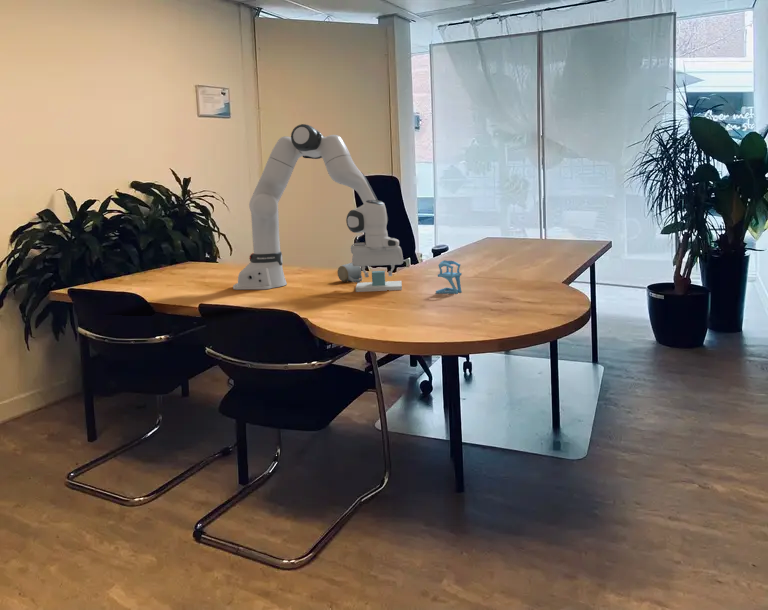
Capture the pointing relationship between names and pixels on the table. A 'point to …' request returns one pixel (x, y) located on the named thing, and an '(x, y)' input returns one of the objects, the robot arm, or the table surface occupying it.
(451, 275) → the chair
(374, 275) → the teal block
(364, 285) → the grey board
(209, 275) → the table surface
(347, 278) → the ceramic mug
